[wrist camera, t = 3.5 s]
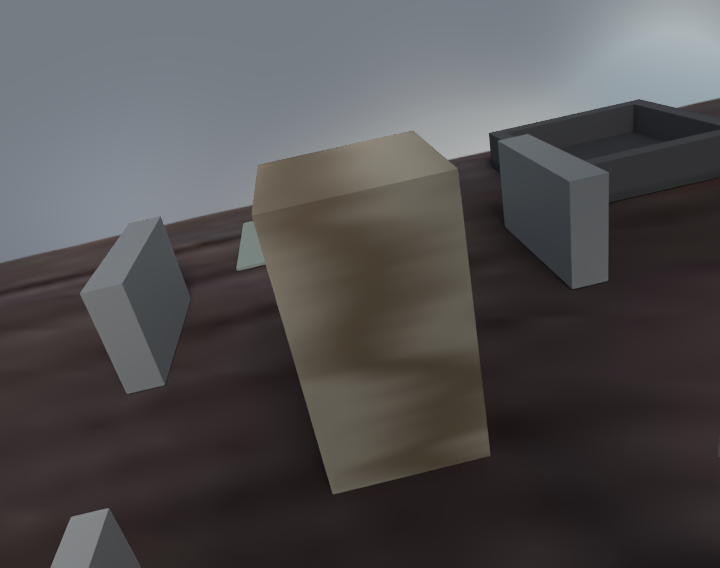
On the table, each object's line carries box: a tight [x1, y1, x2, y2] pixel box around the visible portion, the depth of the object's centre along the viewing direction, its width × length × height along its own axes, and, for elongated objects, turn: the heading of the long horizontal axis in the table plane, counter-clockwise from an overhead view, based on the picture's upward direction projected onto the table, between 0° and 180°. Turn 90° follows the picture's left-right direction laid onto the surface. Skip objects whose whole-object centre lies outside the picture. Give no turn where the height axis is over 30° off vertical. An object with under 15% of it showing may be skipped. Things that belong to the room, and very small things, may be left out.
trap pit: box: [489, 99, 720, 203], centre depth 45 cm, size 14×14×3 cm
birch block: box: [252, 131, 491, 494], centre depth 21 cm, size 6×6×11 cm
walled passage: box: [80, 134, 609, 394], centre depth 33 cm, size 26×10×6 cm, turn 98°
